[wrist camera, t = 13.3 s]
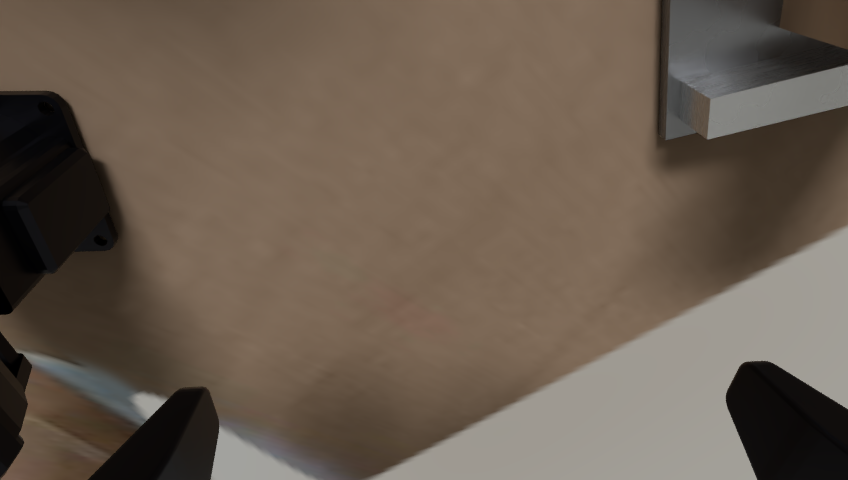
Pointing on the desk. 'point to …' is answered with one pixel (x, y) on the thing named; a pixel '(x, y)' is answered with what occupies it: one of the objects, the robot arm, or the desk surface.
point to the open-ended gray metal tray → (741, 69)
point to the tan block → (817, 20)
